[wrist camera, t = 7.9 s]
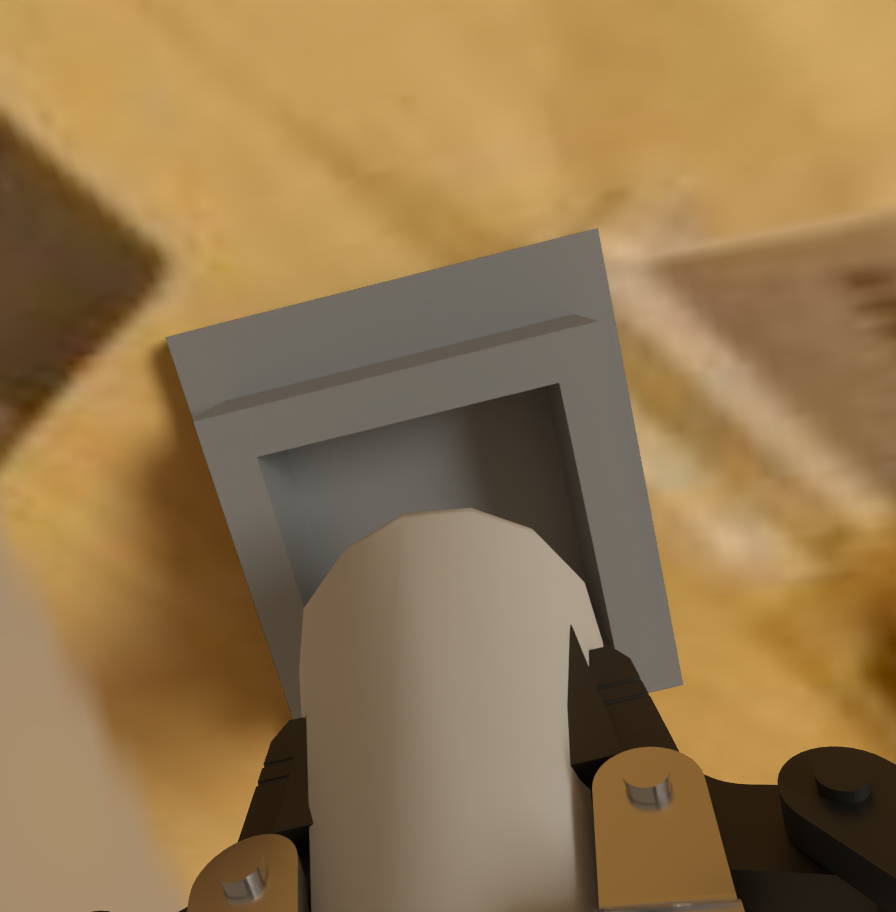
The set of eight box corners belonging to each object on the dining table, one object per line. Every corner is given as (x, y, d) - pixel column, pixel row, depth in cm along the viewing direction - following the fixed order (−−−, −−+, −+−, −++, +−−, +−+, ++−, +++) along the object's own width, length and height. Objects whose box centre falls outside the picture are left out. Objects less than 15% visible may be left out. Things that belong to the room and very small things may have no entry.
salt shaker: (333, 727, 17) (84, 1927, 5) (299, 491, 16) (-176, 1300, 3) (584, 703, 17) (992, 1833, 5) (571, 466, 16) (1098, 1176, 3)
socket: (177, 334, 21) (121, 348, 17) (589, 230, 21) (627, 221, 17) (315, 751, 25) (294, 841, 21) (673, 668, 24) (720, 743, 20)
